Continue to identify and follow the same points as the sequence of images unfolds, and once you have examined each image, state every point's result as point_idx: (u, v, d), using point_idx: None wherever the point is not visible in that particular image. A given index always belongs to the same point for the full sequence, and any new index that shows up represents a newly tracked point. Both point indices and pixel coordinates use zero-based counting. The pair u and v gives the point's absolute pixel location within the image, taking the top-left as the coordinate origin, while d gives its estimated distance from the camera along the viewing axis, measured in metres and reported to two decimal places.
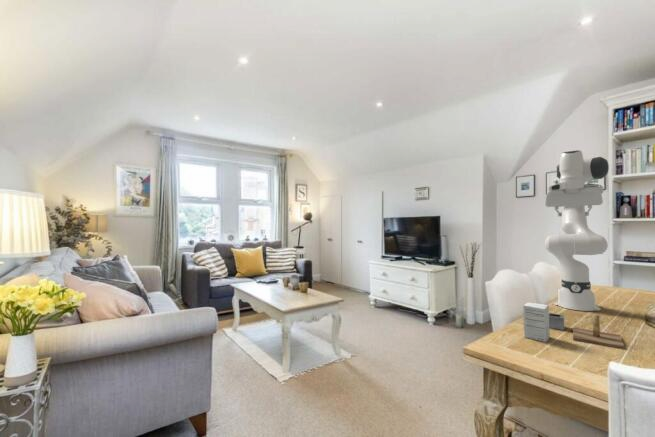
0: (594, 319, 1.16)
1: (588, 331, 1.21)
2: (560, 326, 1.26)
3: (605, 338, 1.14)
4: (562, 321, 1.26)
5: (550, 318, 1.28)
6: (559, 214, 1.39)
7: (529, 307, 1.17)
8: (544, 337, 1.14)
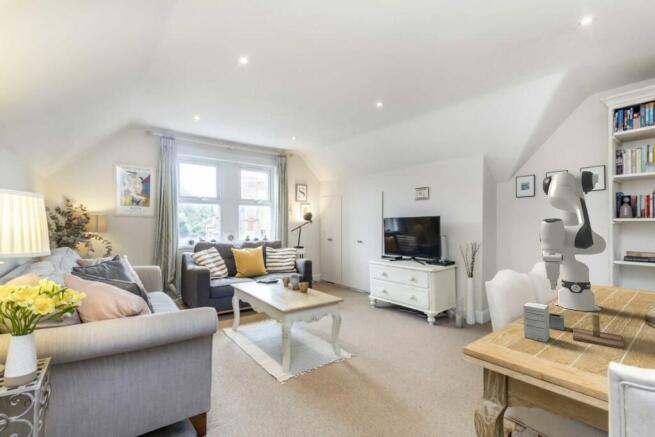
0: (594, 319, 1.16)
1: (588, 331, 1.21)
2: (560, 326, 1.26)
3: (605, 338, 1.14)
4: (562, 321, 1.26)
5: (550, 318, 1.28)
6: None
7: (529, 307, 1.17)
8: (544, 337, 1.14)
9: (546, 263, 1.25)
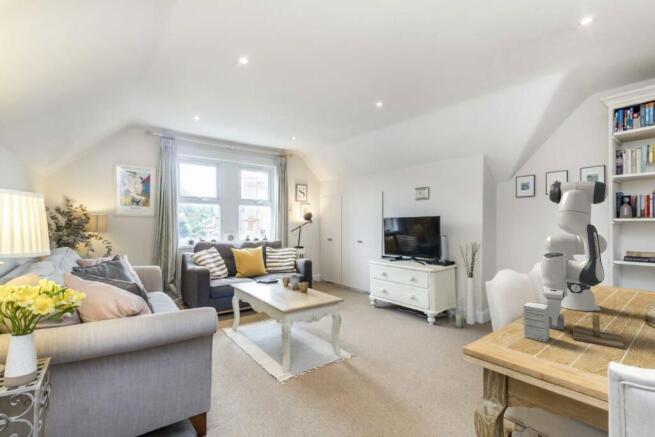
0: (594, 319, 1.16)
1: (588, 331, 1.21)
2: (560, 326, 1.26)
3: (605, 338, 1.14)
4: (562, 321, 1.26)
5: (550, 318, 1.29)
6: (557, 323, 1.26)
7: (529, 307, 1.17)
8: (544, 337, 1.14)
9: (547, 300, 1.24)
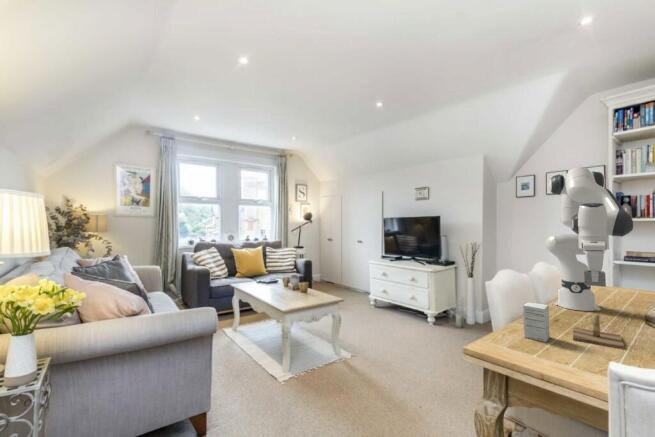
0: (594, 319, 1.16)
1: (588, 331, 1.21)
2: (601, 282, 1.13)
3: (605, 338, 1.14)
4: (604, 277, 1.13)
5: (589, 274, 1.15)
6: None
7: (529, 307, 1.17)
8: (544, 337, 1.14)
9: (587, 252, 1.11)
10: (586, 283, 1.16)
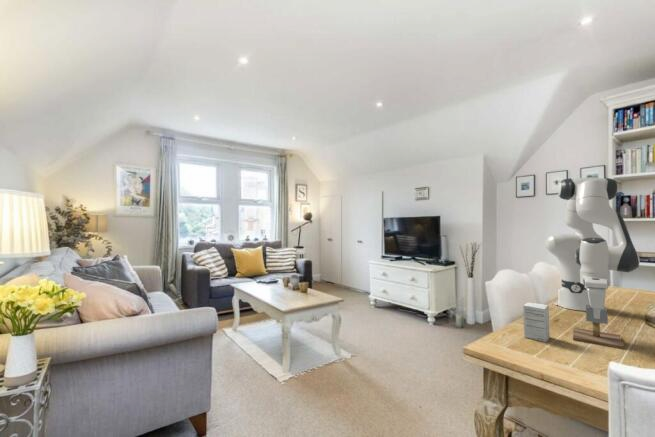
0: None
1: (588, 331, 1.21)
2: (603, 319, 1.13)
3: (605, 338, 1.14)
4: (606, 314, 1.12)
5: (591, 310, 1.15)
6: (599, 316, 1.13)
7: (529, 307, 1.17)
8: (544, 337, 1.14)
9: (589, 290, 1.11)
10: (588, 319, 1.15)
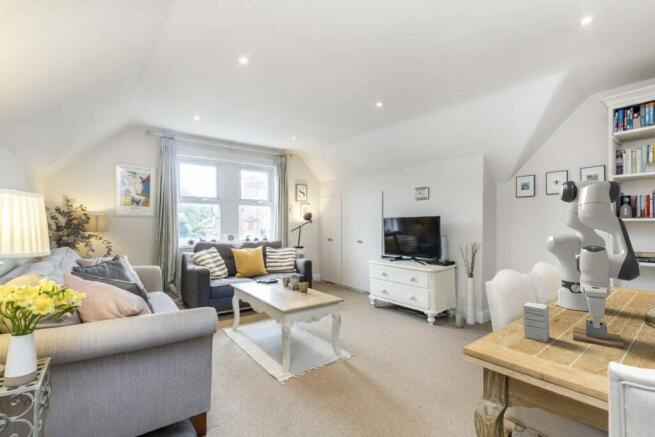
0: None
1: None
2: (603, 335, 1.13)
3: None
4: (606, 330, 1.12)
5: (591, 326, 1.15)
6: (599, 325, 1.12)
7: (529, 307, 1.17)
8: (544, 337, 1.14)
9: (589, 299, 1.11)
10: (588, 335, 1.15)
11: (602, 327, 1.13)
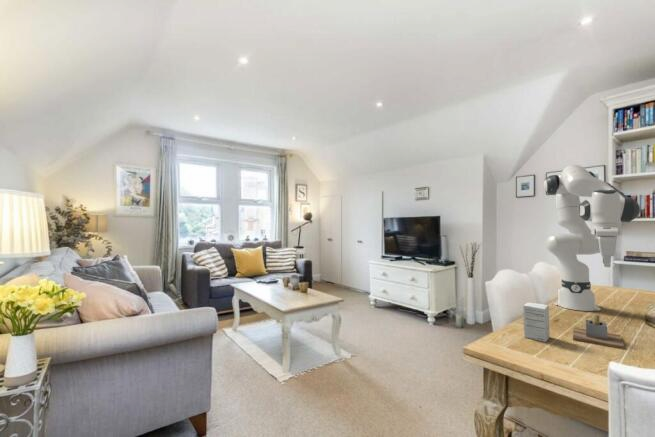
0: (594, 319, 1.16)
1: None
2: (603, 335, 1.13)
3: None
4: (606, 330, 1.12)
5: (591, 326, 1.15)
6: None
7: (529, 307, 1.17)
8: (544, 337, 1.14)
9: (600, 238, 1.14)
10: (588, 335, 1.15)
11: (602, 327, 1.13)
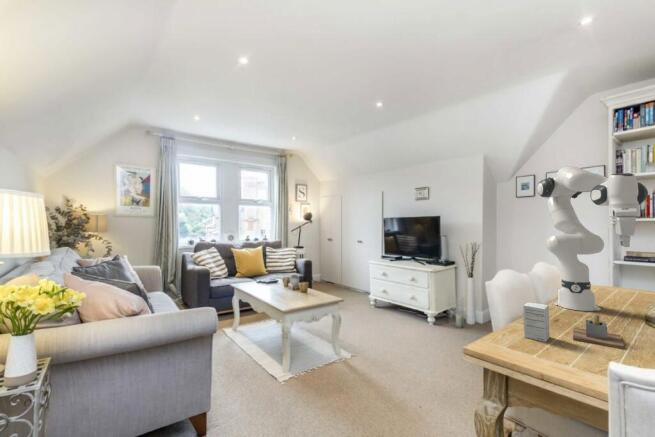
0: (594, 319, 1.16)
1: None
2: (603, 335, 1.13)
3: None
4: (606, 330, 1.12)
5: (591, 326, 1.15)
6: None
7: (529, 307, 1.17)
8: (544, 337, 1.14)
9: (619, 218, 1.17)
10: (588, 335, 1.15)
11: (602, 327, 1.13)
